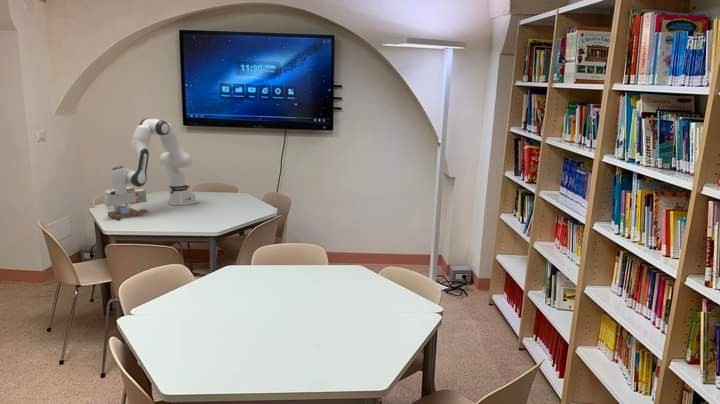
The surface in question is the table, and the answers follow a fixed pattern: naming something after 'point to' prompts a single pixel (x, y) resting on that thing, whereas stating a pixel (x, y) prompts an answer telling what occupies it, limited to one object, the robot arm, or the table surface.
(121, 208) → the strip
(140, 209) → the block
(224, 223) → the table surface
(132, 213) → the board
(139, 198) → the stack of blocks
